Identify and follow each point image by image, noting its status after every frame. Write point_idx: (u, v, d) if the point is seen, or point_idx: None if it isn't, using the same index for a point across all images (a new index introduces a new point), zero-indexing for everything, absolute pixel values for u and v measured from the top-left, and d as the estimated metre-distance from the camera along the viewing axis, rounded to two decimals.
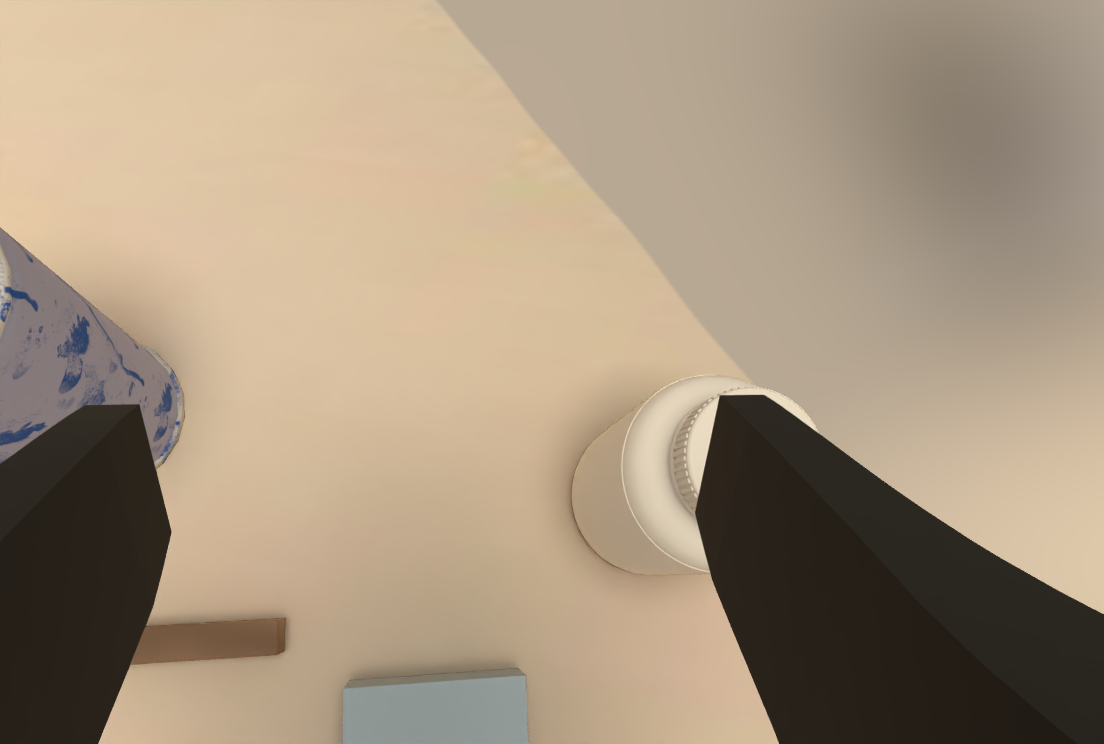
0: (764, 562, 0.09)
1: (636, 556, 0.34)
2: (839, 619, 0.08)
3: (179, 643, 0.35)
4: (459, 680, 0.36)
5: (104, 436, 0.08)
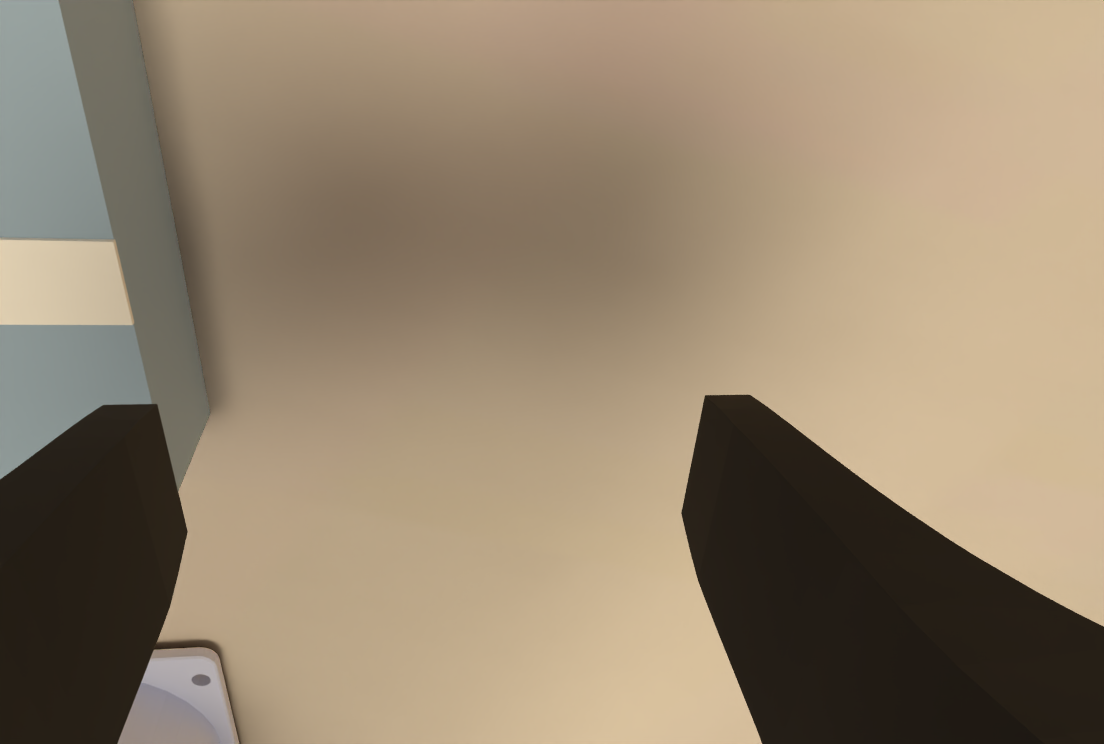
0: (748, 564, 0.09)
1: None
2: (820, 620, 0.08)
3: None
4: None
5: (124, 436, 0.08)
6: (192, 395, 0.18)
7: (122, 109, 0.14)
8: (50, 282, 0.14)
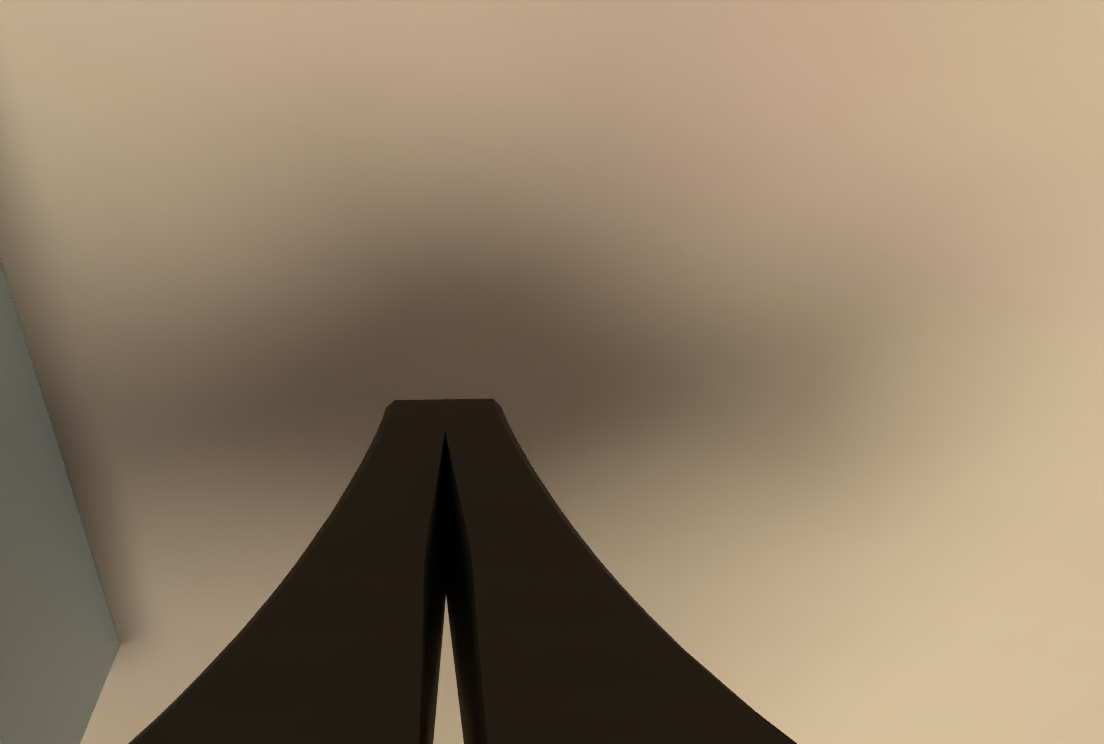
0: (454, 577, 0.09)
1: None
2: (470, 640, 0.07)
3: None
4: None
5: (444, 429, 0.09)
6: (84, 644, 0.12)
7: None
8: None
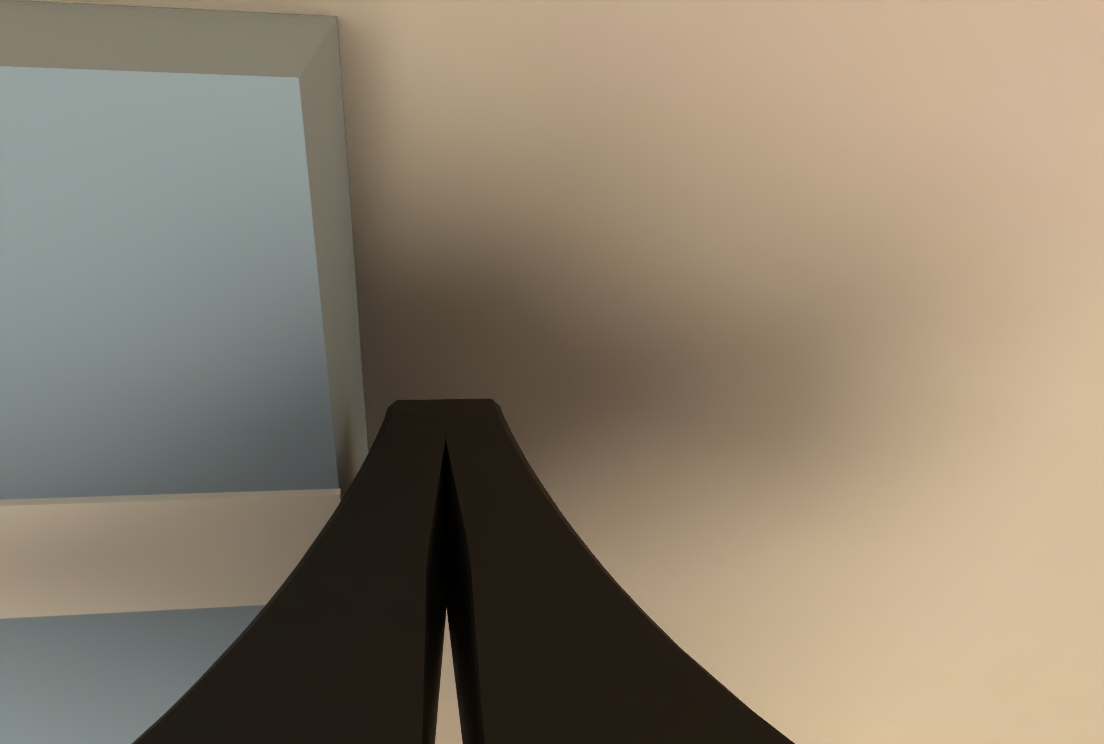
0: (453, 577, 0.09)
1: None
2: (468, 640, 0.07)
3: None
4: None
5: (446, 429, 0.09)
6: None
7: (340, 274, 0.09)
8: (231, 550, 0.09)
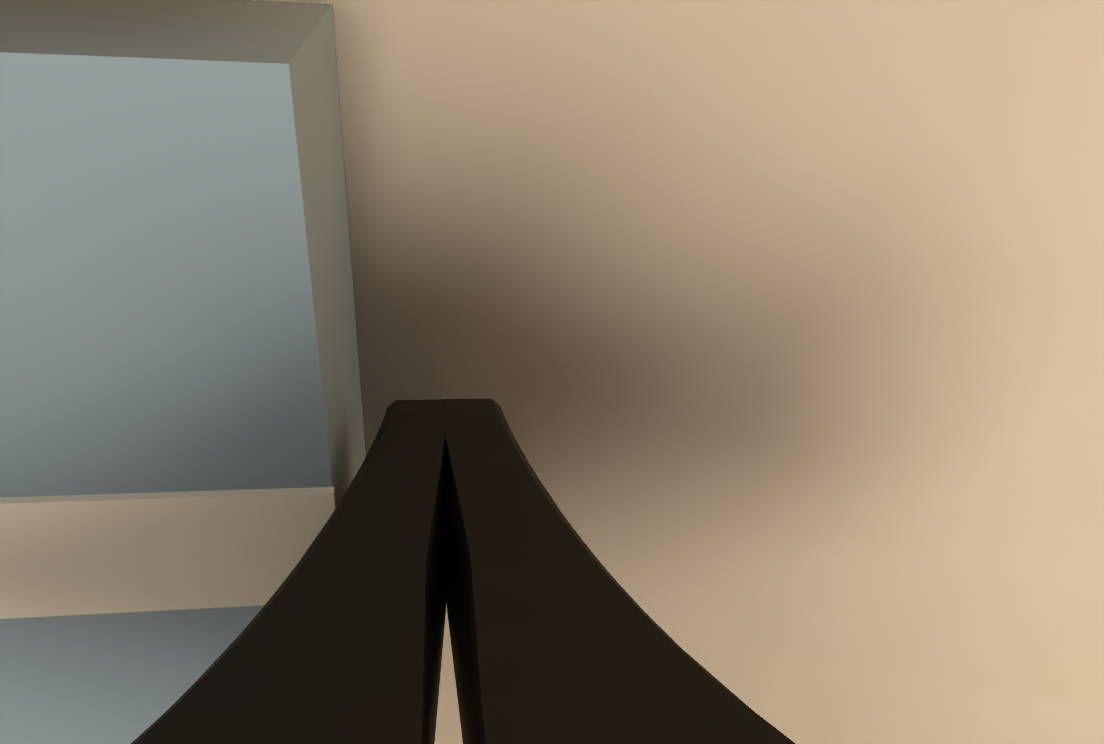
0: (453, 577, 0.09)
1: None
2: (468, 640, 0.07)
3: None
4: None
5: (446, 429, 0.09)
6: None
7: (334, 268, 0.09)
8: (224, 549, 0.09)
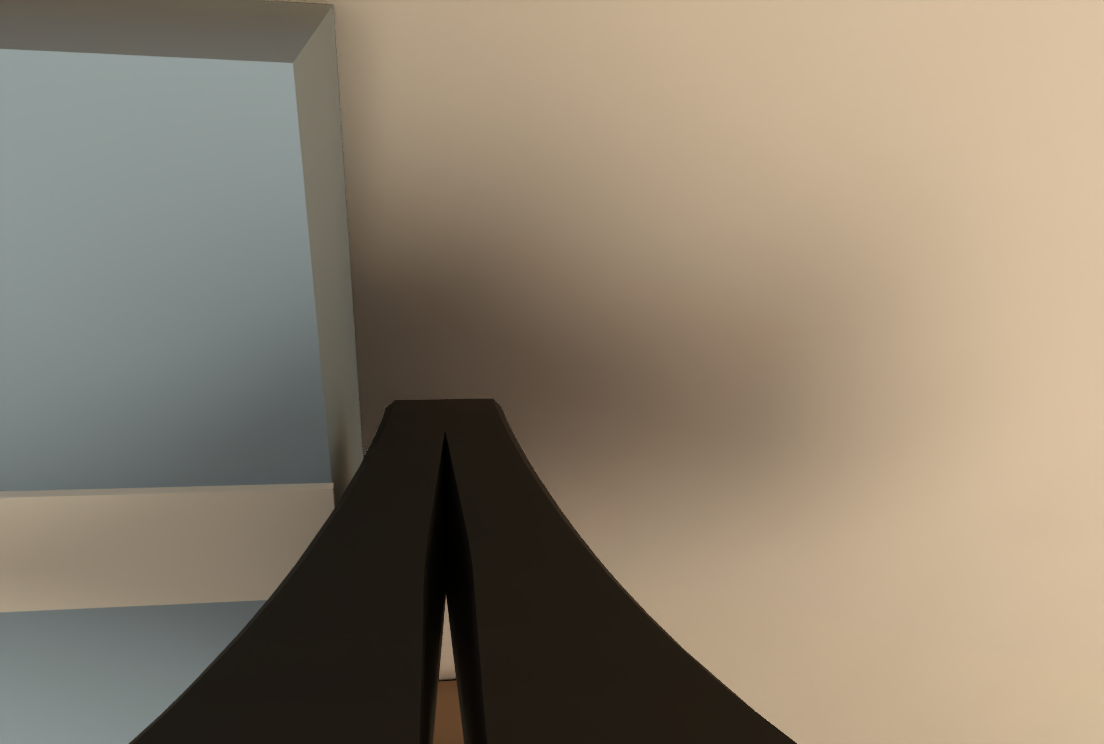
0: (454, 577, 0.09)
1: None
2: (470, 640, 0.07)
3: None
4: None
5: (444, 429, 0.09)
6: None
7: (335, 265, 0.09)
8: (222, 544, 0.09)
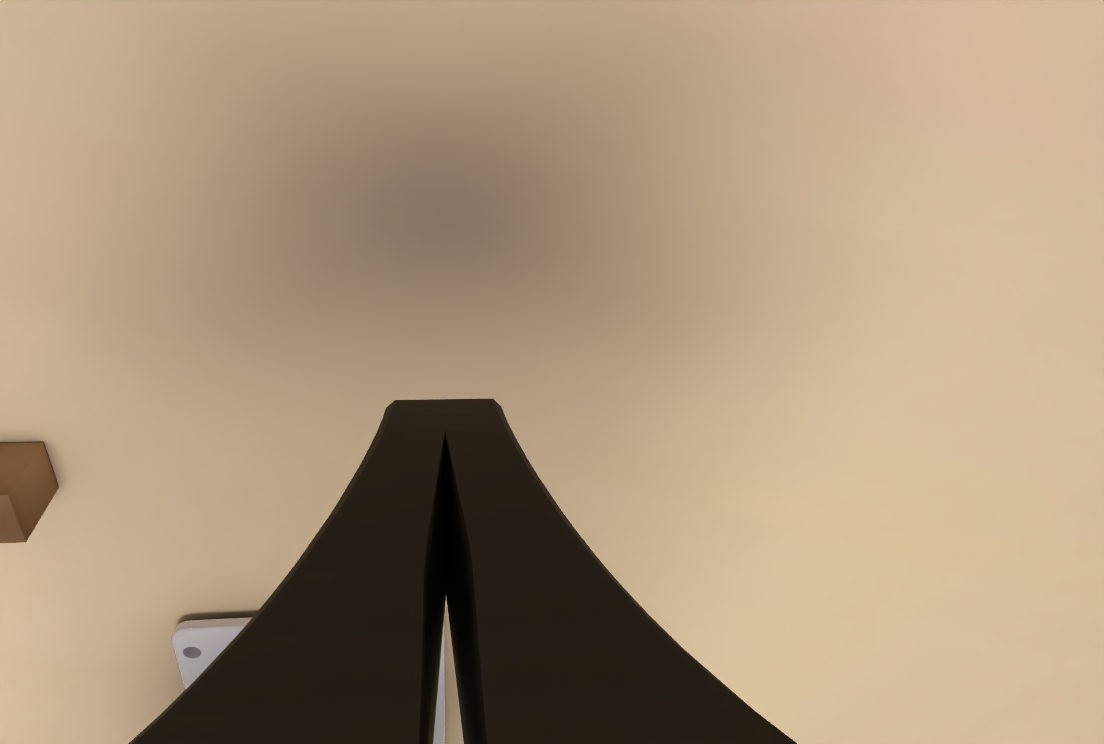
0: (455, 577, 0.09)
1: None
2: (470, 640, 0.07)
3: None
4: None
5: (444, 429, 0.09)
6: None
7: None
8: None
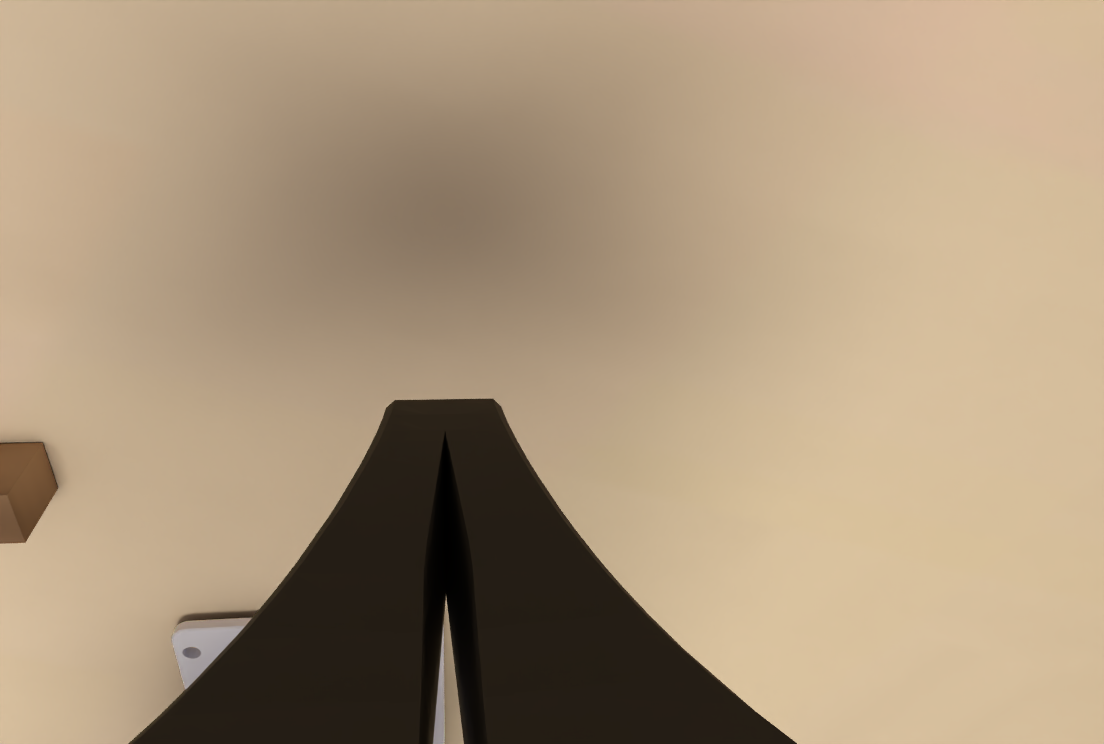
0: (455, 577, 0.09)
1: None
2: (469, 640, 0.07)
3: None
4: None
5: (444, 429, 0.09)
6: None
7: None
8: None
